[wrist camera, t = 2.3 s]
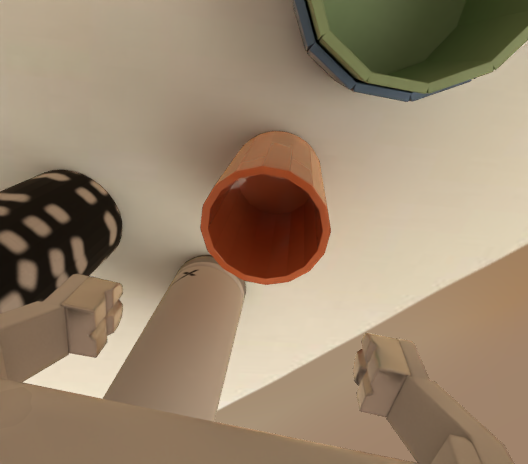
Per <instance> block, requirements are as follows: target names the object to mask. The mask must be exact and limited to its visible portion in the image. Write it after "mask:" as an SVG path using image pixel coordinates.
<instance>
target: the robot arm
mask: <svg viewBox="0 0 528 464" xmlns="http://www.w3.org/2000/svg"><path fill="white" fill-rule="evenodd" d="M122 294H123V289H122V285H121V283H118V282H113V281H109V280H104V279H100V278H95V277H90V276H86V275H81V274H73V275H72V276H71V277H69V278H68V279H67V280H66V281H65V282H64V283H63V284H62V285H61V286H60V287H58V288H57V289H56V290H55V291H54V292H53V293H52V294H51V295H50V296H49V297H47V298H46V299H45V300H44V301H43V302H40V301H37V302H34V303H31V304H28V305H25V306H22V307H19V308H16V309H13V310H10V311H7V312H4V313H1V314H0V464H514V462H513V460H512V458H511V457H510V455H509V453H508V451H507V449H506V447H505V445H504V444H503V443H502V442H501V441H500V440H498V438H496V437H495V436H494V435H493V434H492V433H491V432H490V431H489V430H487V429H486V428H485V427H484V426H483V425H482V424H481V423H480V422H479V421H478V420H477V419H476V418H474V417H473V416H472V415H471V414H470V413H469V412H468V411H467V410H466V409H465V408H464V407H462V406H461V405H460V404H459V403H458V402H457V401H456V400H455V399H453V397H451V396H450V395H449V394H448V393H447V392H446V391H445V390H444V389H443V388H442V387H440V386H439V385H438V384H437V383H436V382H435V381H431V380H430V379H429V377H428V375H427V372H426V370H425V367H424V365H423V363H422V360H421V358H420V355H419V353H418V351H417V348H416V346H415V344H414V343H413V342H412V341H410V340H405V339H399V338H391V337H386V336H381V335H376V334H370V333H365V335H364V336H363V338H362V341H361V343H362V349H361V350H359V351H358V352H357V354H356V357H355V359H354V366H353V376H354V381H355V383H356V384H357V385H358V386H359V388H358V390H357V392H356V394H357V399H358V405H359V411H361V412H365V413H370V414H374V415H378V416H383V417H387V418H386V419H387V420H388V422H389V423H390V424H391V426H392V427H393V429H394V430H395V431H396V433H397V434H398V436H399V437H400V439H401V440H402V442H403V443H404V444H405V446H406V447H407V449H408V450H409V451H410V453H411V454H412V455H413V457H414V458H415V460H416V461H417V463H415V462H410V461H405V460H400V459H396V458H390V457H386V456H381V455H375V454H371V453H366V452H361V451H356V450H351V449H346V448H341V447H335V446H331V445H326V444H321V443H317V442H311V441H307V440H302V439H297V438H292V437H287V436H283V435H278V434H273V433H268V432H263V431H258V430H253V429H248V428H243V427H238V426H233V425H229V424H224V423H219V422H214V421H209V420H204V419H199V418H194V417H189V416H184V415H179V414H175V413H170V412H165V411H160V410H155V409H150V408H145V407H140V406H135V405H130V404H125V403H120V402H116V401H111V400H106V399H101V398H96V397H91V396H86V395H81V394H76V393H71V392H66V391H61V390H57V389H52V388H47V387H42V386H37V385H32V384H27V383H22V382H23V381H25V380H27V379H28V378H30V377H32V376H33V375H35V374H37V373H38V372H40V371H42V370H44V369H45V368H47V367H49V366H50V365H52V364H54V363H55V362H57V361H59V360H60V359H62V358H64V357H65V356H67V355H69V353H72V354H78V355H83V356H89V357H95V358H96V357H97V356H98V354H99V353H100V352H101V350H102V349H103V347H104V346H105V344H106V343H107V336H108V335H110V334H112V333H114V331H115V330H116V328H117V327H118V325H119V323H120V320H121V317H122V312H123V304H122V303H121V301H120V300H119V298H120V297H121V295H122Z"/></svg>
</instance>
